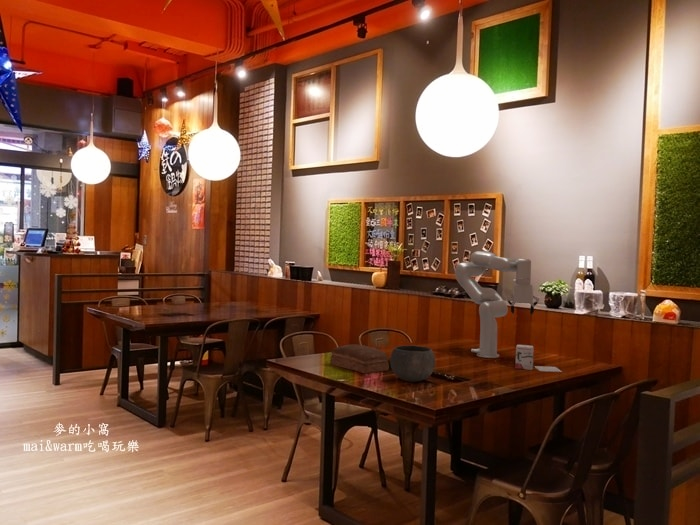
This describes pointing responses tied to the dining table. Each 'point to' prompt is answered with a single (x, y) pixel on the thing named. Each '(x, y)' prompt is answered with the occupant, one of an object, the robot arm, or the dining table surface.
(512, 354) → the dining table surface
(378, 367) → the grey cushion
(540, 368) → the mat
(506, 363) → the dining table surface
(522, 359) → the ink box
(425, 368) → the bowl
